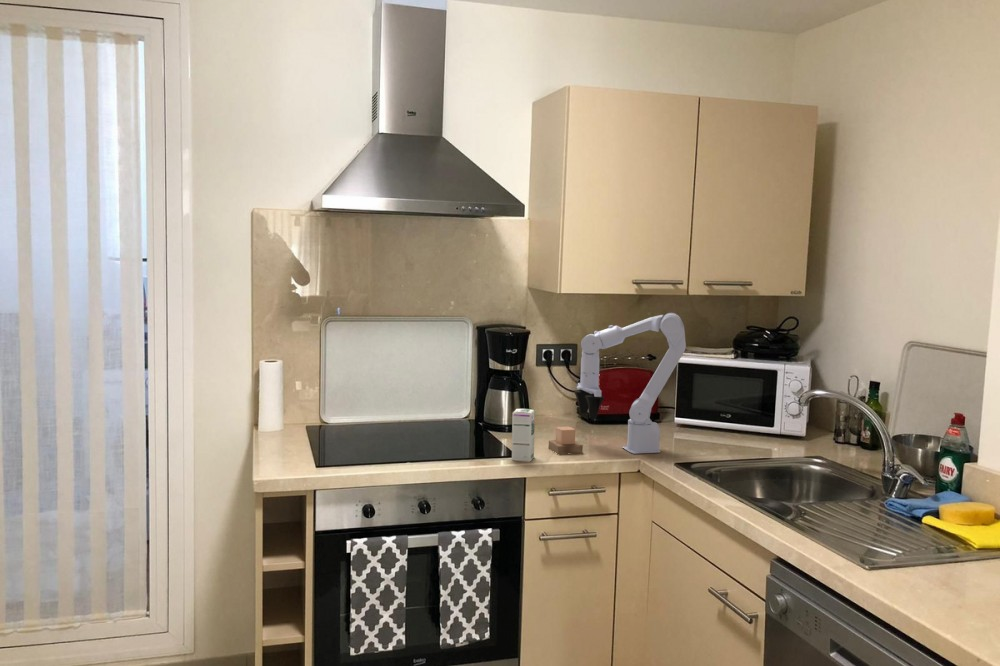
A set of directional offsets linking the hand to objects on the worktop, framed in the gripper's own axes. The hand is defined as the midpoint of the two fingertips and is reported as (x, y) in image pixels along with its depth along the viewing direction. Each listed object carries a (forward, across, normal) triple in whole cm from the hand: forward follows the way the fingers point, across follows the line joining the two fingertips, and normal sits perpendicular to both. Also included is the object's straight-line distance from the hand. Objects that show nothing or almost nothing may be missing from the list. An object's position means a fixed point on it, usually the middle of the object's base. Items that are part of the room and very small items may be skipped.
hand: (588, 415), depth 262 cm
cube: (+7, +4, -9) cm, 12 cm away
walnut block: (+10, +4, -9) cm, 14 cm away
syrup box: (+10, +11, -25) cm, 29 cm away
